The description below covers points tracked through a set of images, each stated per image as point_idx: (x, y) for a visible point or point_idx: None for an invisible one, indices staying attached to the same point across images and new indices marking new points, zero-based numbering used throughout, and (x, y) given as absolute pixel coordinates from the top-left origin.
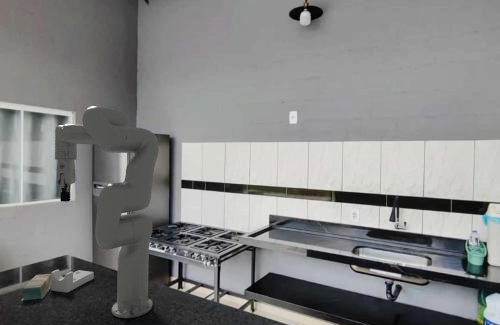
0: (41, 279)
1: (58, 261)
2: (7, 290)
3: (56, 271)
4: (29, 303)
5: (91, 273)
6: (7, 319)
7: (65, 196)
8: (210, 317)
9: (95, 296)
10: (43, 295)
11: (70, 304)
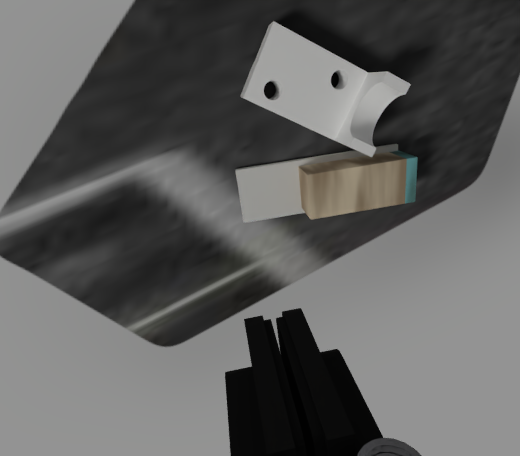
0: (354, 183)
1: (59, 245)
2: (310, 267)
3: (364, 142)
4: None
5: (284, 27)
6: (477, 177)
7: (354, 391)
8: None
9: None
10: (379, 151)
11: (448, 44)
